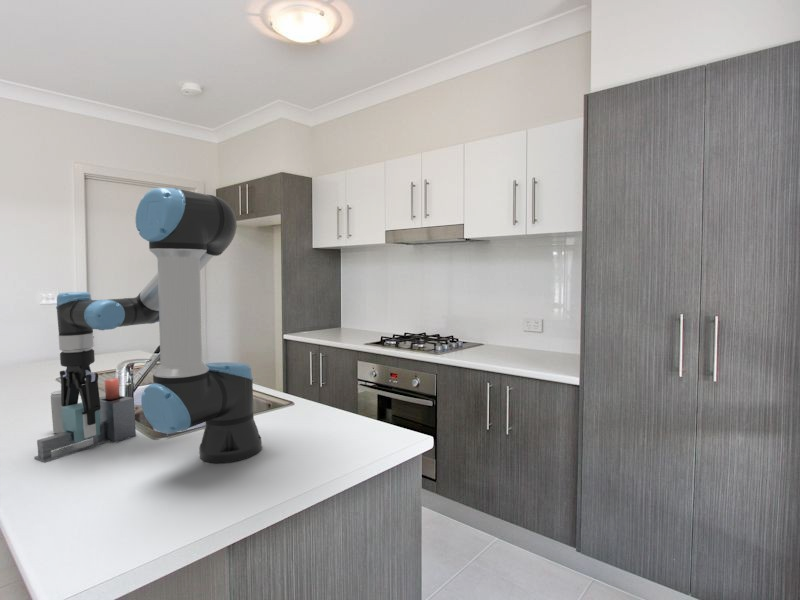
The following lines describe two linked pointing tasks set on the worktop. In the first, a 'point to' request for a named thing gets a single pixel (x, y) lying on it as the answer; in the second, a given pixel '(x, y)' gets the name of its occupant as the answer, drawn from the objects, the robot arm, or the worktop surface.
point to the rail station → (113, 427)
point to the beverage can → (57, 412)
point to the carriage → (77, 421)
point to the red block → (112, 388)
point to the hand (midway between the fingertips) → (82, 434)
